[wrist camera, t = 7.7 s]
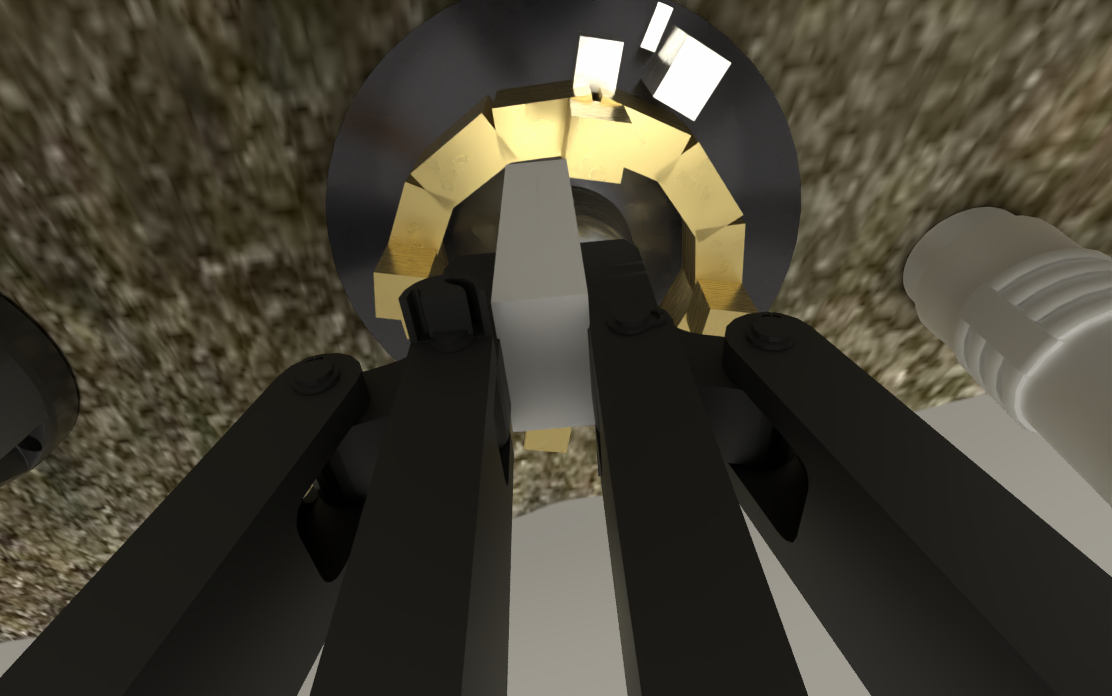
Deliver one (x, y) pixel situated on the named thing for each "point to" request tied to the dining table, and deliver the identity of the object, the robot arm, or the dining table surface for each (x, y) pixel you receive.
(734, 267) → the ring nut
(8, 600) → the dining table surface
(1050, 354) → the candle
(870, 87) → the dining table surface
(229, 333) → the dining table surface
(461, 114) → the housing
